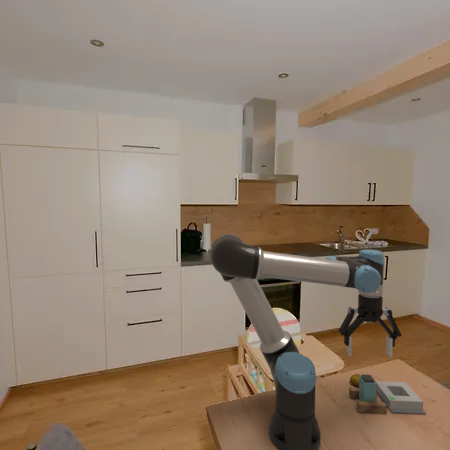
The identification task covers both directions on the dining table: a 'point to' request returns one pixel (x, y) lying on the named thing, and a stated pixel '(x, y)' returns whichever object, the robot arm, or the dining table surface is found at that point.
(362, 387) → the plug
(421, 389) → the dining table surface
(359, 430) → the dining table surface
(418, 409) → the port
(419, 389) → the dining table surface
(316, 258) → the robot arm
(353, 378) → the fruit
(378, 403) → the pair of wooden rails
